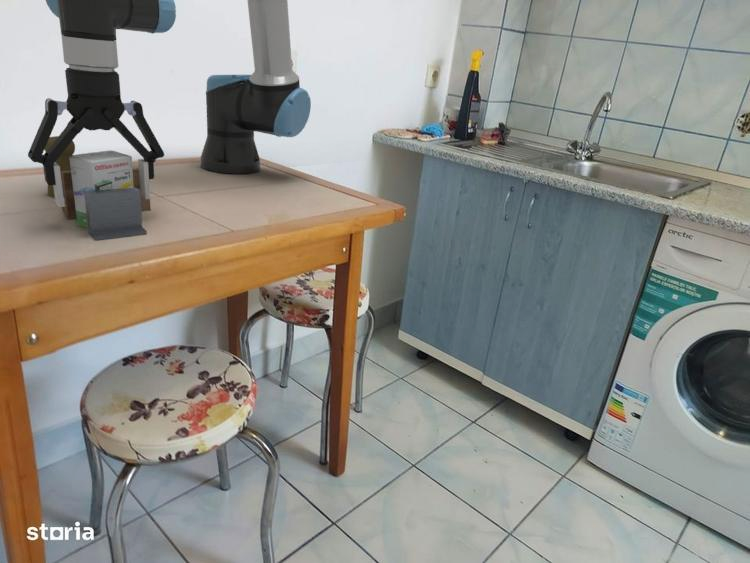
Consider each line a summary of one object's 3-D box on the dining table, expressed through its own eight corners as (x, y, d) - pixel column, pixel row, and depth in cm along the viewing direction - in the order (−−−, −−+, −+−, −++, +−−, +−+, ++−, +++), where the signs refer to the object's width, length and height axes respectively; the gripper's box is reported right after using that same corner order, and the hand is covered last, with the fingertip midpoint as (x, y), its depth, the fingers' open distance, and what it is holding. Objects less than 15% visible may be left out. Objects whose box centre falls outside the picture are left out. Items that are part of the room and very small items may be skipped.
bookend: (138, 227, 93) (135, 187, 91) (146, 234, 91) (144, 193, 88) (88, 232, 89) (83, 191, 86) (95, 240, 86) (90, 197, 83)
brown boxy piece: (142, 204, 105) (140, 163, 102) (150, 210, 102) (148, 168, 99) (62, 211, 97) (56, 166, 93) (68, 218, 94) (62, 172, 90)
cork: (74, 188, 110) (67, 133, 106) (88, 195, 107) (82, 139, 102) (42, 192, 106) (34, 134, 101) (55, 199, 102) (48, 140, 98)
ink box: (96, 231, 89) (89, 160, 85) (75, 225, 91) (67, 155, 87) (137, 220, 97) (133, 154, 92) (117, 214, 98) (112, 149, 94)
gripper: (163, 70, 94) (169, 189, 103) (-8, 60, 79) (14, 200, 87) (180, 75, 89) (184, 200, 98) (0, 65, 74) (24, 214, 82)
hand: (104, 200), depth 92 cm, fingers open, 13 cm apart
